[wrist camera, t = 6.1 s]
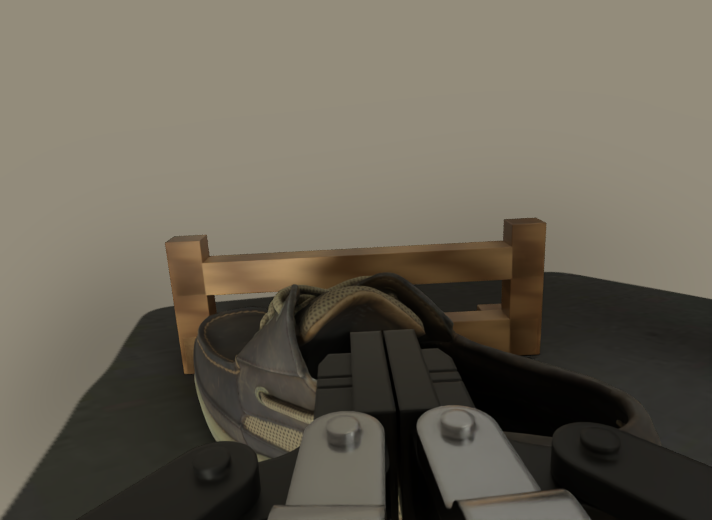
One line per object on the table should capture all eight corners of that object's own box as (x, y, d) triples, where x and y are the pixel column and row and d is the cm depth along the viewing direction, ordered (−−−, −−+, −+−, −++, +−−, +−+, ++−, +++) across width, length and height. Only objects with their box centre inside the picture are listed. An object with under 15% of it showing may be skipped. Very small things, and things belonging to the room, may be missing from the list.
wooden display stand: (510, 315, 46) (513, 204, 43) (543, 354, 38) (550, 222, 36) (207, 331, 46) (192, 220, 43) (180, 374, 38) (160, 242, 35)
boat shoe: (293, 352, 41) (282, 218, 38) (744, 580, 19) (794, 315, 17) (157, 406, 34) (130, 247, 31) (627, 853, 13) (678, 476, 10)
